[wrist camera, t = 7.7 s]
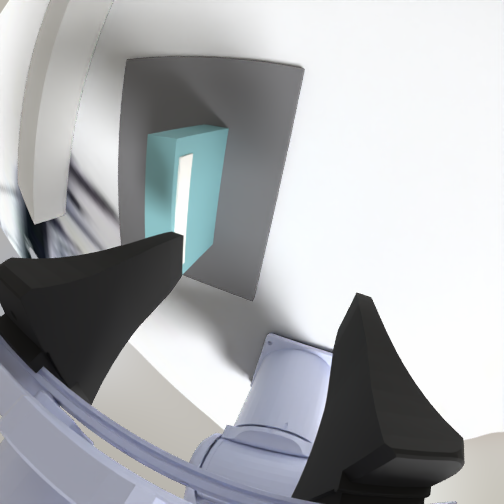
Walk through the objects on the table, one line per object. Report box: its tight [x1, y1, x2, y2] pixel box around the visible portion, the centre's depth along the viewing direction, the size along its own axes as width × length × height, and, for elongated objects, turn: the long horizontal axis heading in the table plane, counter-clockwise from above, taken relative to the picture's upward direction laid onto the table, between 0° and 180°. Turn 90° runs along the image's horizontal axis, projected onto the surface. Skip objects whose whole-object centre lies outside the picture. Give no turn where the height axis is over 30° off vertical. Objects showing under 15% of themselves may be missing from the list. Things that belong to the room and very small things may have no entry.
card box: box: [145, 124, 229, 275], centre depth 17 cm, size 9×2×6 cm, turn 170°
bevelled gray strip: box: [18, 0, 114, 224], centre depth 18 cm, size 34×5×10 cm
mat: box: [118, 57, 305, 301], centre depth 20 cm, size 18×14×1 cm
